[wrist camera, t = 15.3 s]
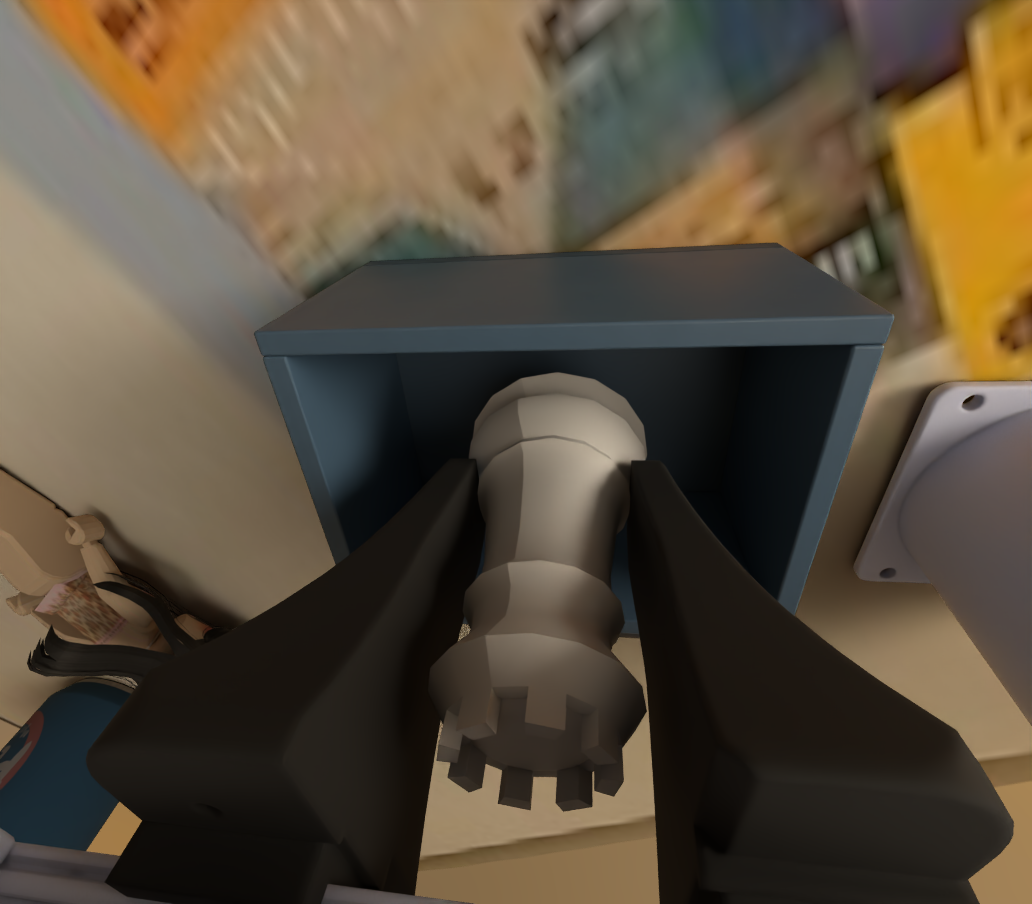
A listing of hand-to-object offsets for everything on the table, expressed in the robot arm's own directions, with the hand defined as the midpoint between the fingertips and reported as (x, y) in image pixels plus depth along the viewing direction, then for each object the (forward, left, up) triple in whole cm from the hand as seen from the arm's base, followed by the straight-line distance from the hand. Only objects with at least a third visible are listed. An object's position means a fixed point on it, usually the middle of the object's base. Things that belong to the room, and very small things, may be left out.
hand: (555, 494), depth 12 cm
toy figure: (+21, +10, -6) cm, 24 cm away
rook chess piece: (0, 0, -2) cm, 2 cm away
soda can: (+29, +23, -6) cm, 38 cm away
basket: (0, +1, -5) cm, 5 cm away
